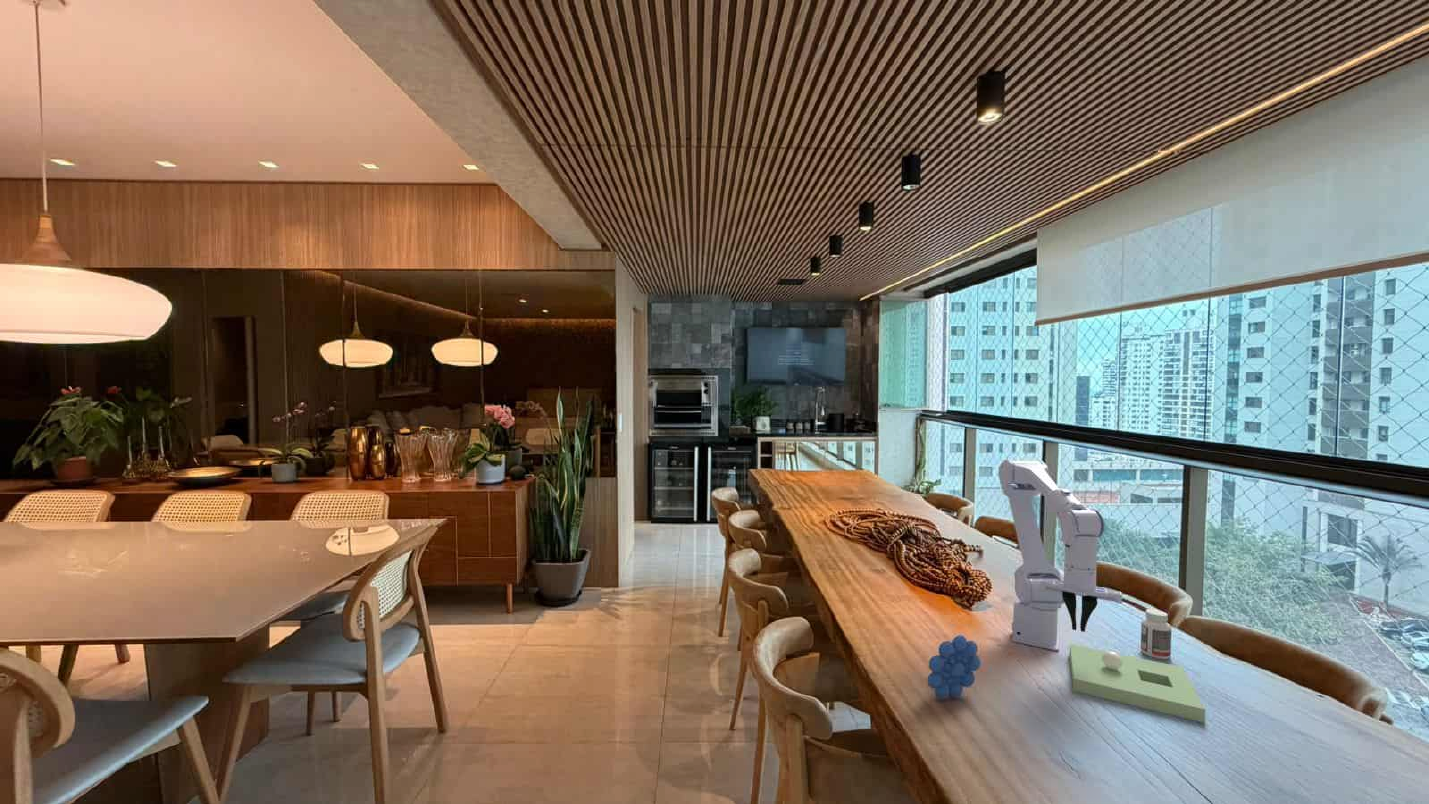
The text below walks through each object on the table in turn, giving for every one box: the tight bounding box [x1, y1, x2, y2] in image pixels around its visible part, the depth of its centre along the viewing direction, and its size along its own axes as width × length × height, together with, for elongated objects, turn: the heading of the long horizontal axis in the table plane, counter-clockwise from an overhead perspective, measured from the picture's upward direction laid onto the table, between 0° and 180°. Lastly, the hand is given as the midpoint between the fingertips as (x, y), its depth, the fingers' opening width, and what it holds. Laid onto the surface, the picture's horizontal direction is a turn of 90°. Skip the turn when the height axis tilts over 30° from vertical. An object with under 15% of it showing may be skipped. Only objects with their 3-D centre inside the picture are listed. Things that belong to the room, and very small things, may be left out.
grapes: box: [926, 635, 981, 699], centre depth 108 cm, size 12×7×12 cm, turn 105°
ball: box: [1102, 650, 1123, 670], centre depth 114 cm, size 4×4×4 cm
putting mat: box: [1069, 643, 1206, 724], centre depth 112 cm, size 20×18×2 cm
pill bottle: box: [1140, 608, 1172, 660], centre depth 126 cm, size 5×5×10 cm
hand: (1078, 629), depth 117 cm, fingers closed
